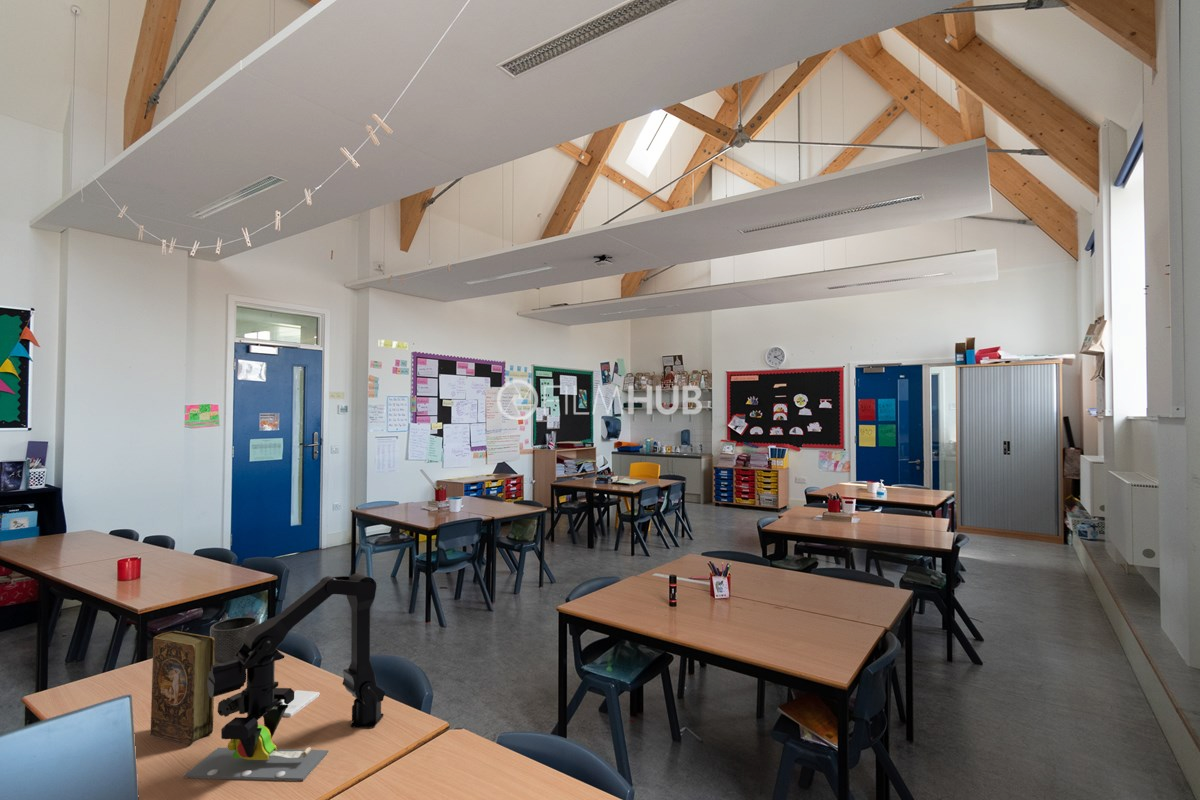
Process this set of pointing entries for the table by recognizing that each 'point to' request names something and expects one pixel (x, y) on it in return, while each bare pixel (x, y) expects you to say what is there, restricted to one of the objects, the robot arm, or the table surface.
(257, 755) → the toy measuring tape
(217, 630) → the planter
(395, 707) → the table surface
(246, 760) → the marked mat
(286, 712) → the external hard drive
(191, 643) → the book
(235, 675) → the robot arm
